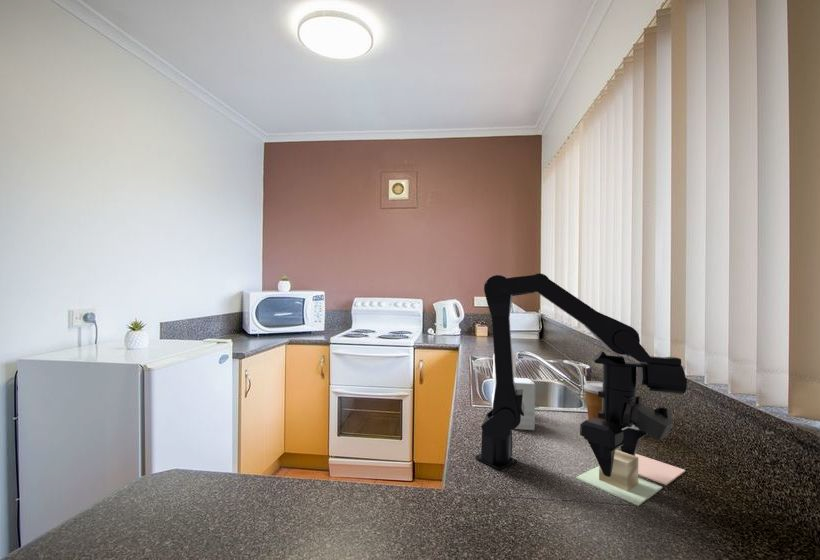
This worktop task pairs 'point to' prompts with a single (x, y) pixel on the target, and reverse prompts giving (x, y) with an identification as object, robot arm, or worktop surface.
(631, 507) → the worktop surface
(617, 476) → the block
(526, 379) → the supplement box
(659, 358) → the robot arm
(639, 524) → the worktop surface
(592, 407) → the disposable coffee cup
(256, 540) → the worktop surface
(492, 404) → the water bottle
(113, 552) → the worktop surface
